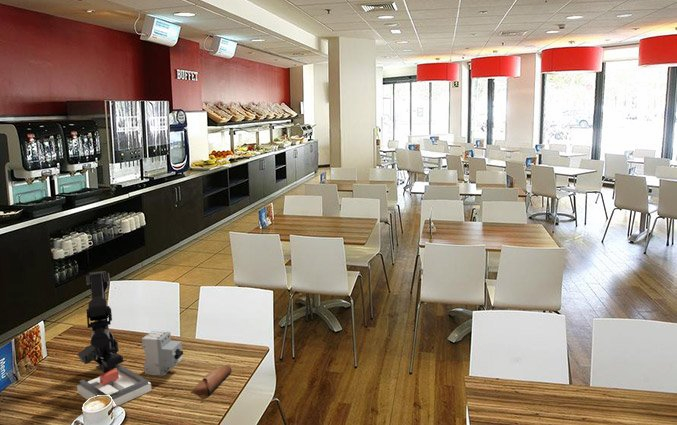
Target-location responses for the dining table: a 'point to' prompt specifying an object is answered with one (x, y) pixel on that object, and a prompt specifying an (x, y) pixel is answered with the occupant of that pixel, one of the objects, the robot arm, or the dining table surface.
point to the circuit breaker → (160, 352)
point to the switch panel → (115, 388)
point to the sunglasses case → (212, 380)
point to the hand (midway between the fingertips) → (105, 375)
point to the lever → (109, 377)
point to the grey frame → (122, 392)
